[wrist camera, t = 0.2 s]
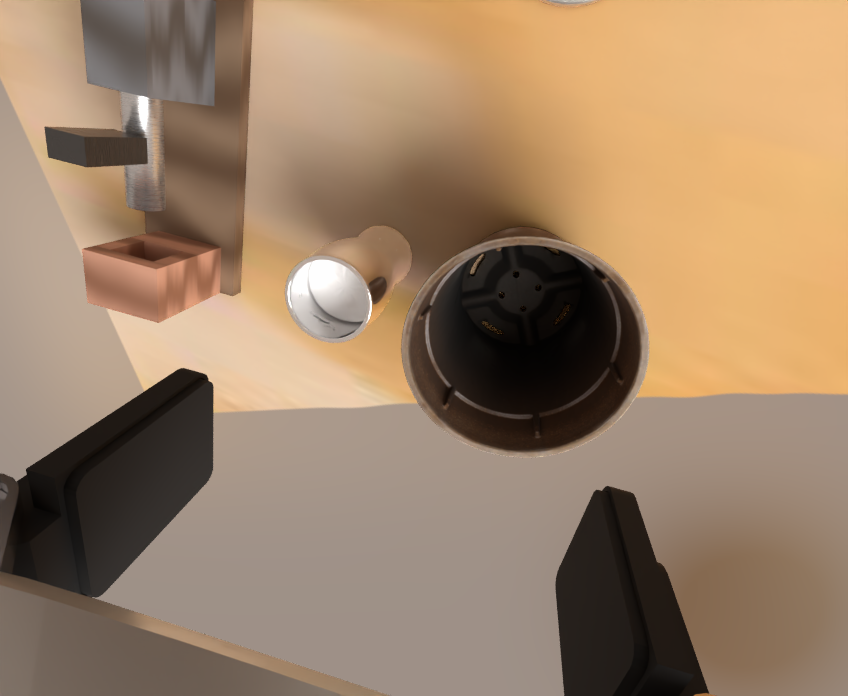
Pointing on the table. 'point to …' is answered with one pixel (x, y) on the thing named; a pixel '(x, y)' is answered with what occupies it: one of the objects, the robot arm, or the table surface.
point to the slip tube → (122, 150)
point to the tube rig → (177, 148)
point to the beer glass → (347, 283)
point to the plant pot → (525, 346)
